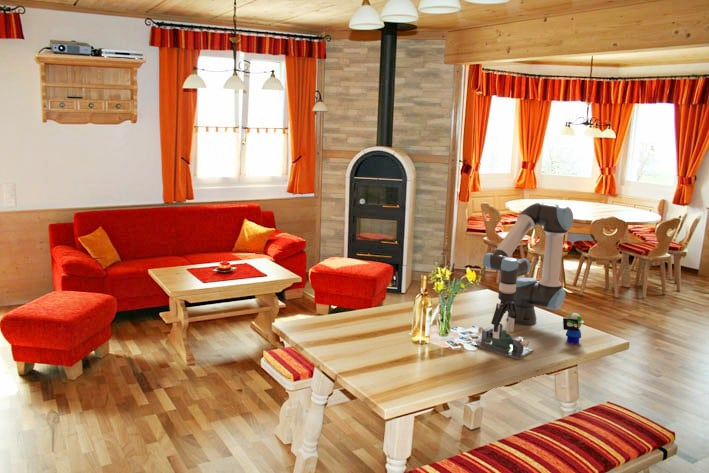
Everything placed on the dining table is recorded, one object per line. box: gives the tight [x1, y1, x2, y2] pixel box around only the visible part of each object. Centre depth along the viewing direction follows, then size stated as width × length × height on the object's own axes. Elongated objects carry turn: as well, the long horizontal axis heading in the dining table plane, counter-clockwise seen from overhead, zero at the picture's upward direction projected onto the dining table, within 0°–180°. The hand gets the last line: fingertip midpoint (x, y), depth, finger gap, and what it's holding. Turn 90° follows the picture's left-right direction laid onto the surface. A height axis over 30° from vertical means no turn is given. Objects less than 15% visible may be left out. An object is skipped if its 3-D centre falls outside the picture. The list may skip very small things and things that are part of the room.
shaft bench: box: [473, 326, 535, 361], centre depth 293 cm, size 15×25×7 cm, turn 47°
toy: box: [562, 312, 585, 345], centre depth 303 cm, size 9×9×15 cm
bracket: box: [492, 322, 513, 348], centre depth 293 cm, size 9×9×9 cm
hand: (503, 334), depth 292 cm, fingers open, 13 cm apart
